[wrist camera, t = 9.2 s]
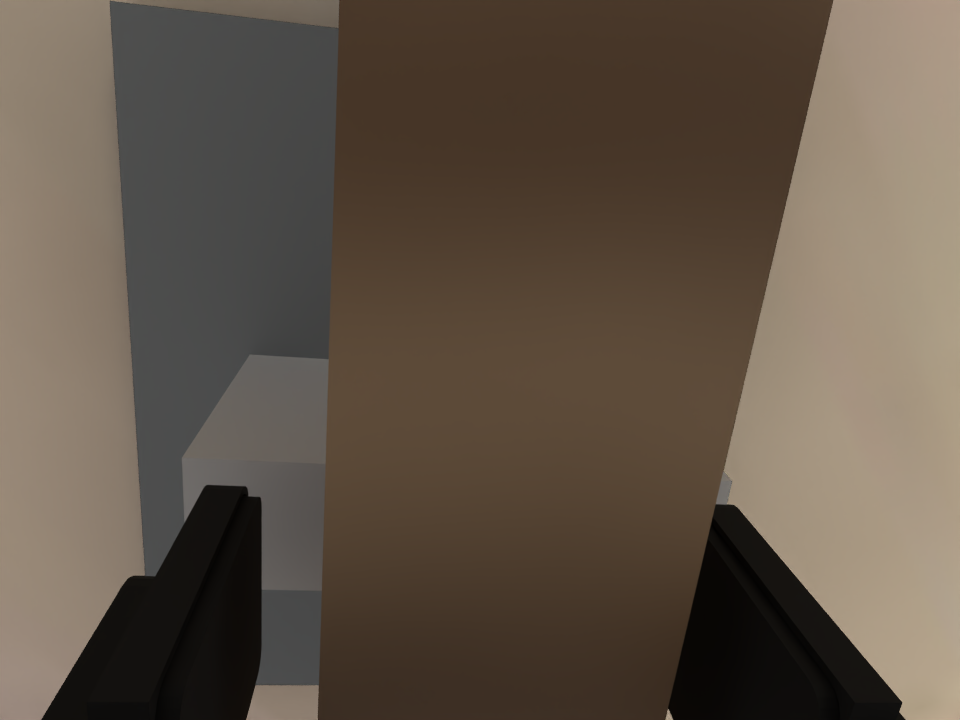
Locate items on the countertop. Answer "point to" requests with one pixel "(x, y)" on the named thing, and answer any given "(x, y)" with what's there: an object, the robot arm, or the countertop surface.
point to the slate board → (233, 287)
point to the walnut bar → (541, 339)
